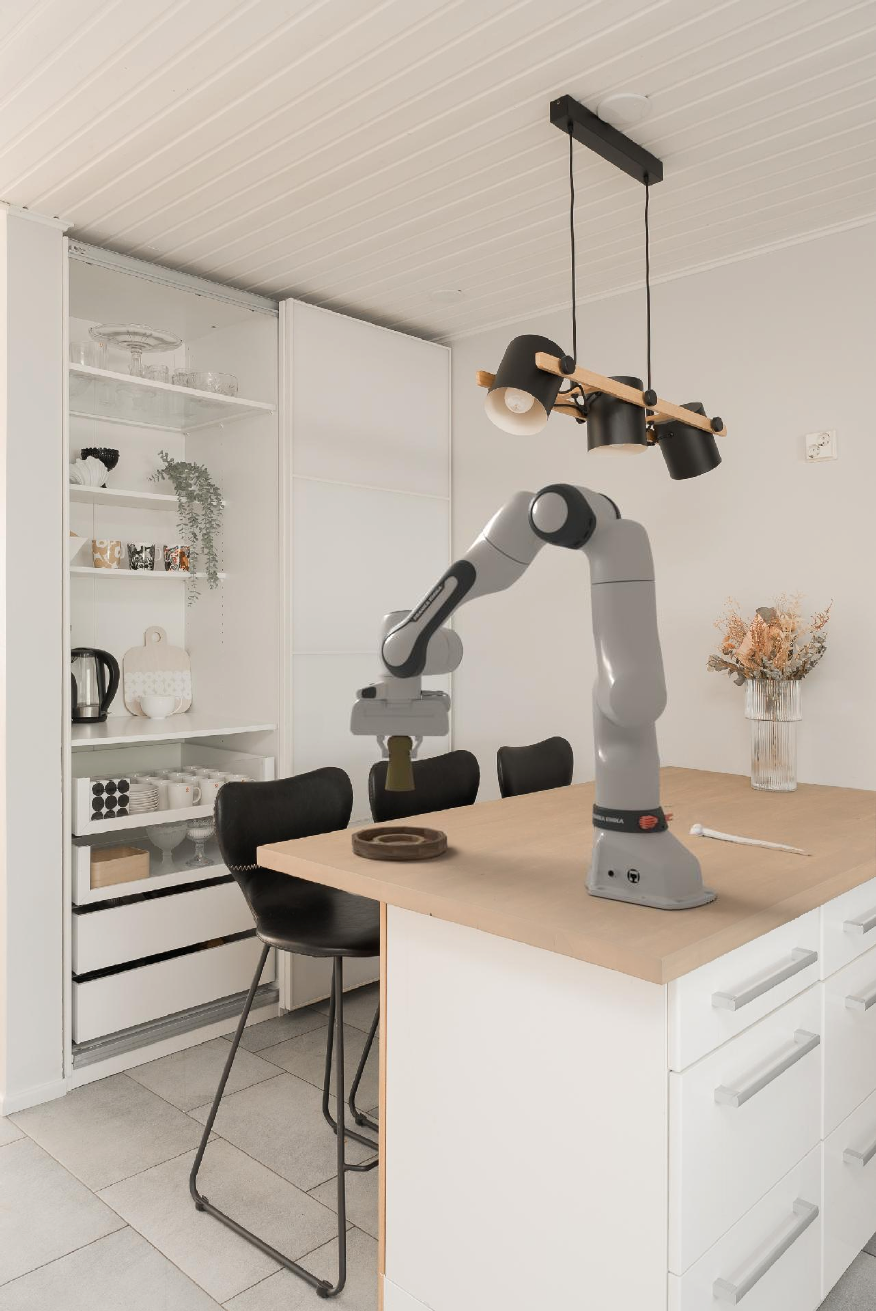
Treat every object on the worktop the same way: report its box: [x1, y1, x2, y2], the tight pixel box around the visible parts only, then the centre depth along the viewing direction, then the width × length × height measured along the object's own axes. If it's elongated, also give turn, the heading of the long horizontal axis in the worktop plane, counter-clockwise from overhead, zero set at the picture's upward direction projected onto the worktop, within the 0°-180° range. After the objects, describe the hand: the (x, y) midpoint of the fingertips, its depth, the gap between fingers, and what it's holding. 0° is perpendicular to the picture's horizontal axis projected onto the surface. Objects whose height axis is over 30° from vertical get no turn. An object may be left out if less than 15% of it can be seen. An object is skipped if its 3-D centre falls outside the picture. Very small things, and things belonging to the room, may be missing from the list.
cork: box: [384, 736, 415, 792], centre depth 192 cm, size 6×6×11 cm
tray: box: [351, 825, 448, 862], centre depth 192 cm, size 19×19×3 cm
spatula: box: [689, 823, 806, 851], centre depth 199 cm, size 28×4×3 cm, turn 41°
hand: (399, 757), depth 192 cm, fingers closed on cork, 4 cm apart
